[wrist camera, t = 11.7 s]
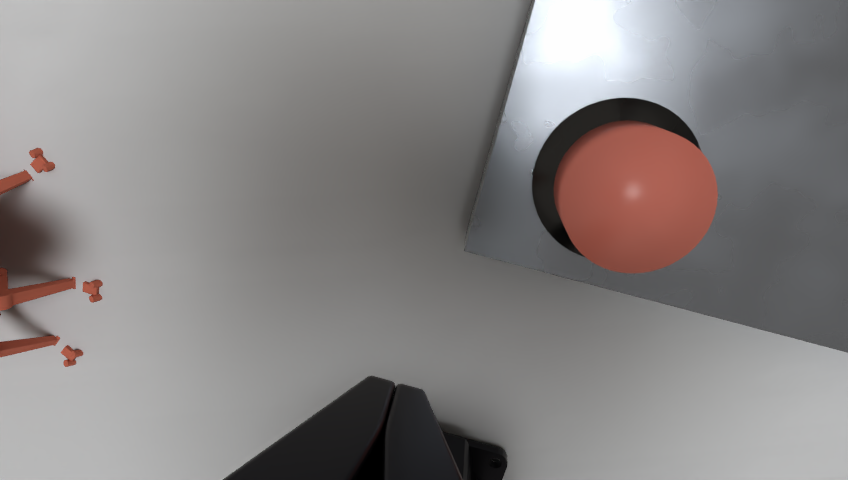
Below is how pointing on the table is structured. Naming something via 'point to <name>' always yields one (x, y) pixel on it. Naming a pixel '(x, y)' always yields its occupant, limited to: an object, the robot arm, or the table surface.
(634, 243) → the button
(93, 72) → the table surface
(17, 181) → the robot toy
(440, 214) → the table surface
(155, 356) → the table surface
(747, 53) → the panel
